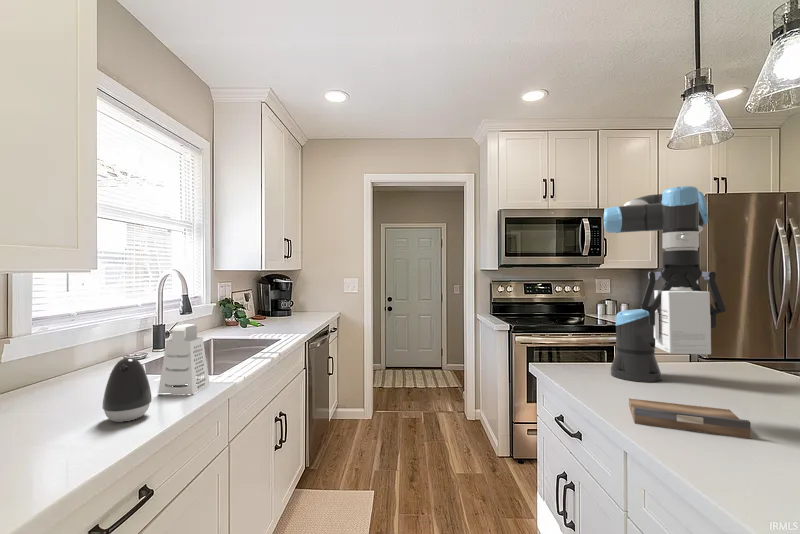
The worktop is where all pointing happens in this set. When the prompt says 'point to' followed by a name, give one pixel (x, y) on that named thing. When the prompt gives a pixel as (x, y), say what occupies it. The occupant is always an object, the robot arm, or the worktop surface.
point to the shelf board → (689, 418)
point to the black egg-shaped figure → (127, 391)
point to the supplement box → (684, 322)
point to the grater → (184, 362)
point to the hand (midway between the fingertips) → (681, 339)
